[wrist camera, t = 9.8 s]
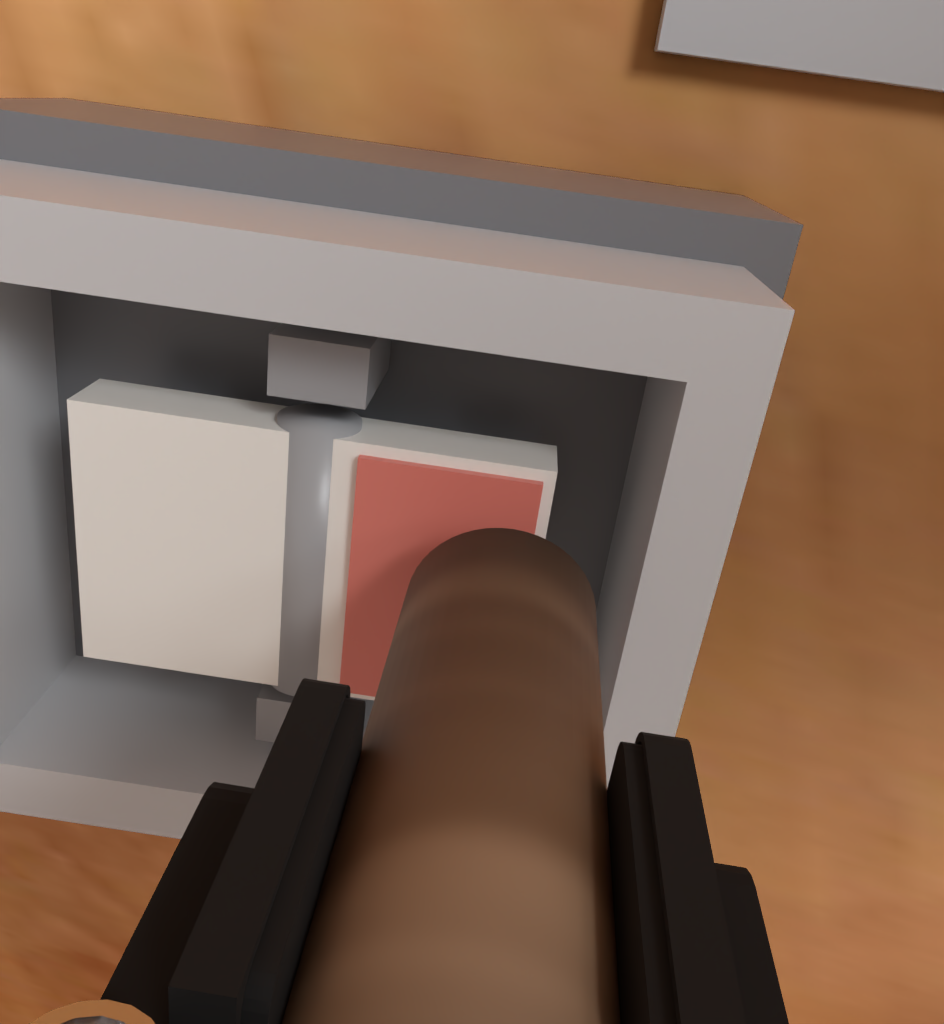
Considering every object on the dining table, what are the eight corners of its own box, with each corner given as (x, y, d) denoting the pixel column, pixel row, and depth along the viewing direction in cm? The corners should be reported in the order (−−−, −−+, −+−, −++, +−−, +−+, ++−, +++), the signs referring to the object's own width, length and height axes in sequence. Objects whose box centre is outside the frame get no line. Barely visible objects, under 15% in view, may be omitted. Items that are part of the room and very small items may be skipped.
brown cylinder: (414, 513, 14) (-144, 2197, 3) (612, 543, 13) (804, 2383, 3) (398, 674, 15) (-23, 2227, 4) (577, 702, 15) (618, 2359, 4)
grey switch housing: (64, 98, 20) (-241, 98, 12) (743, 195, 20) (872, 258, 12) (93, 604, 25) (-104, 825, 18) (623, 683, 25) (659, 943, 17)
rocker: (102, 371, 16) (61, 396, 14) (558, 438, 16) (559, 469, 14) (113, 623, 18) (80, 666, 17) (513, 684, 18) (510, 730, 16)
